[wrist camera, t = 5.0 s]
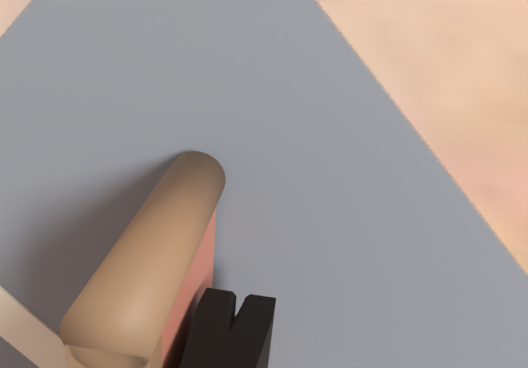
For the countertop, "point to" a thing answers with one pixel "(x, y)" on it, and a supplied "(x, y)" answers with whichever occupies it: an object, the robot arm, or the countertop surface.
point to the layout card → (242, 183)
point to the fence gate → (151, 275)
